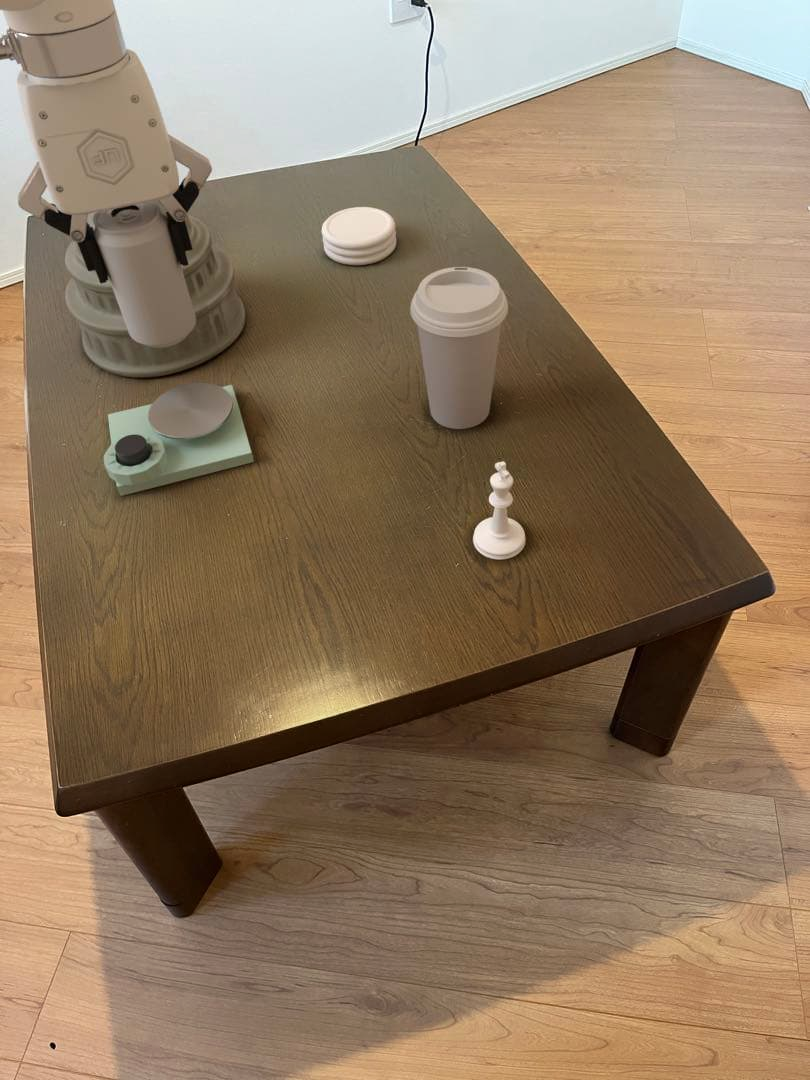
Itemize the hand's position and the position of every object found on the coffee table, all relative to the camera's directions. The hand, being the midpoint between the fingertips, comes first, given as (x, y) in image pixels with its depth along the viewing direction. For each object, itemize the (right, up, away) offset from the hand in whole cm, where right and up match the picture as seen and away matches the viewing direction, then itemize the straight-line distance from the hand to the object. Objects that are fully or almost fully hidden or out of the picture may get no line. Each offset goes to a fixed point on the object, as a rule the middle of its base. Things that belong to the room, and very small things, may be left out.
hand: (143, 265), depth 74 cm
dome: (-7, +2, +30) cm, 31 cm away
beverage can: (0, -5, +5) cm, 7 cm away
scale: (-1, -14, +16) cm, 21 cm away
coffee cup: (+29, -10, +17) cm, 35 cm away
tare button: (-4, -16, +11) cm, 20 cm away
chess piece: (+32, -25, +5) cm, 41 cm away
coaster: (+17, +16, +41) cm, 47 cm away
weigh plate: (0, -11, +15) cm, 18 cm away
